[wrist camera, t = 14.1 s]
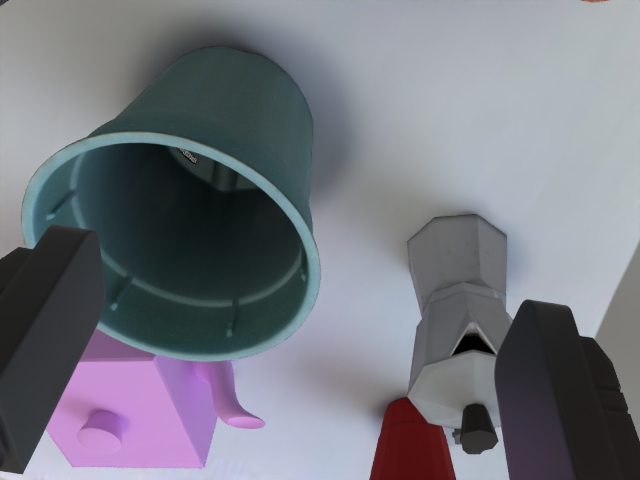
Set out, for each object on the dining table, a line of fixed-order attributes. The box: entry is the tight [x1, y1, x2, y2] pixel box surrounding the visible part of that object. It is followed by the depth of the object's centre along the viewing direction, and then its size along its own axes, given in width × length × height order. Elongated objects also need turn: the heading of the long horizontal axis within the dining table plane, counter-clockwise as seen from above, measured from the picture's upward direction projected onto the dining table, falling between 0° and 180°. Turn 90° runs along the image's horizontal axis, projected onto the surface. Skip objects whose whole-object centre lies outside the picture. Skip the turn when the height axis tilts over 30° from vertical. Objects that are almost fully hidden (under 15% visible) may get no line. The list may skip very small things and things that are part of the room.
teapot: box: [45, 329, 265, 469], centre depth 55 cm, size 15×25×14 cm, turn 98°
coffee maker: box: [407, 215, 513, 454], centre depth 46 cm, size 15×9×18 cm, turn 9°
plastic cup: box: [369, 398, 456, 480], centre depth 62 cm, size 11×11×12 cm
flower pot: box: [21, 47, 321, 362], centre depth 40 cm, size 16×16×16 cm
